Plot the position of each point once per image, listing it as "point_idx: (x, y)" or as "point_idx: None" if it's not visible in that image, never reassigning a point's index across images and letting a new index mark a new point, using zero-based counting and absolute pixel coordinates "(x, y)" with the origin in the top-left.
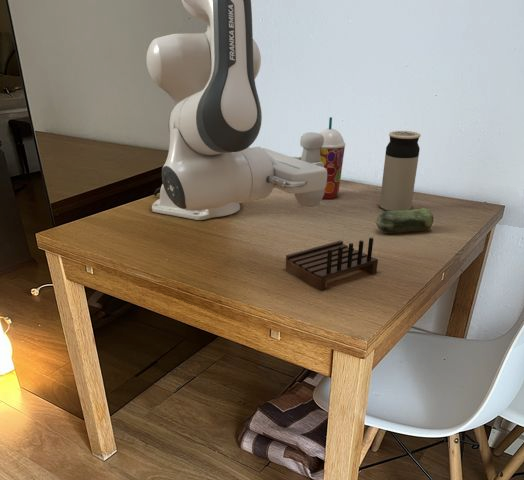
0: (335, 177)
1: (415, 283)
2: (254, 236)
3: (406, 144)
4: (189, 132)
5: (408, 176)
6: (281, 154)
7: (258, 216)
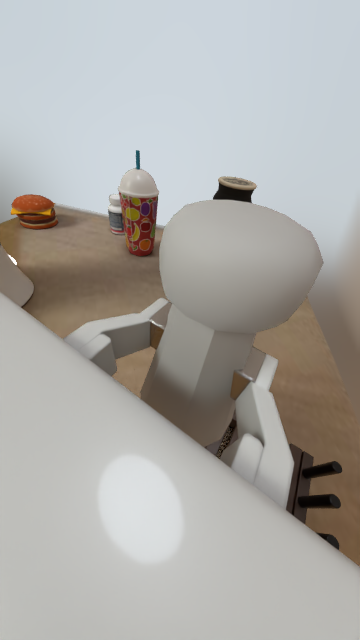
0: (151, 233)
1: None
2: None
3: (243, 197)
4: None
5: None
6: (43, 363)
7: (63, 306)
